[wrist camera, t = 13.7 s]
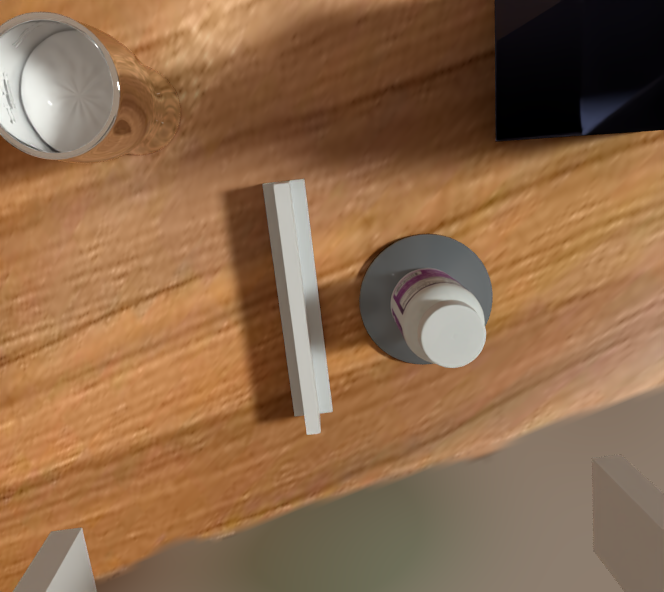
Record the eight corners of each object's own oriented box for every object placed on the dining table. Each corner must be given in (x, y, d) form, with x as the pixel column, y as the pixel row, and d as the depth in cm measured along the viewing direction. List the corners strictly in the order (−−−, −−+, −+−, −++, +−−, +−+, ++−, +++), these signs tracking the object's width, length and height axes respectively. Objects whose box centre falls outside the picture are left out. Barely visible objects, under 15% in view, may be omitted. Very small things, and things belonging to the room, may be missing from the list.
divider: (294, 413, 48) (293, 436, 45) (262, 183, 44) (258, 186, 41) (332, 409, 48) (334, 431, 45) (304, 178, 44) (303, 180, 41)
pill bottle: (460, 333, 47) (497, 377, 37) (390, 337, 47) (410, 383, 37) (460, 263, 46) (498, 291, 36) (388, 267, 46) (408, 296, 36)
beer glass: (116, 177, 44) (19, 188, 29) (68, 83, 42) (-59, 45, 28) (204, 137, 44) (150, 128, 29) (159, 40, 42) (78, -21, 27)
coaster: (366, 368, 48) (366, 371, 47) (352, 242, 46) (353, 243, 45) (493, 353, 48) (495, 355, 47) (486, 226, 46) (488, 227, 45)
